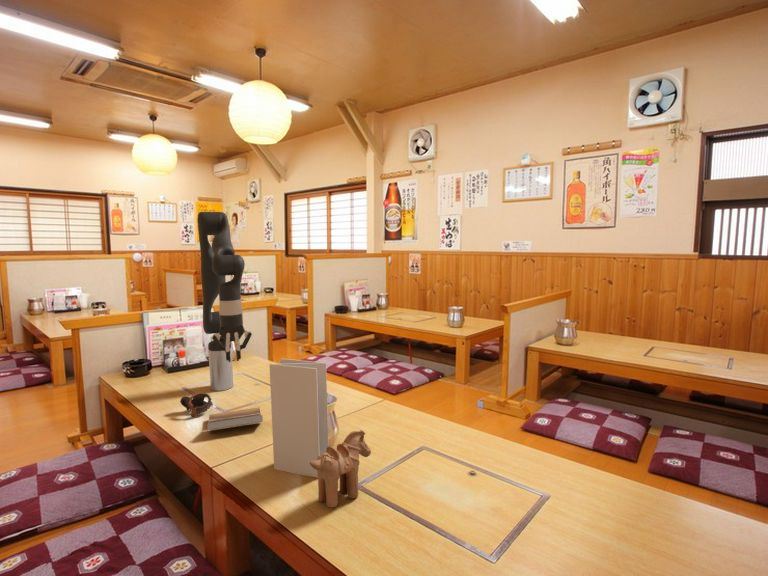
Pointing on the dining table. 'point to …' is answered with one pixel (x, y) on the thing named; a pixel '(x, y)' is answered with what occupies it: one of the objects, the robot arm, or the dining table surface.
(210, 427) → the slate plank
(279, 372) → the brochure
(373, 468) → the dining table surface
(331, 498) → the figurine
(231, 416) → the glossy brown slab
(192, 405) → the pottery mug
